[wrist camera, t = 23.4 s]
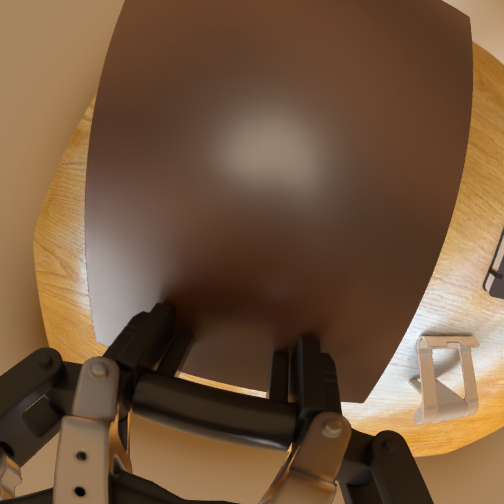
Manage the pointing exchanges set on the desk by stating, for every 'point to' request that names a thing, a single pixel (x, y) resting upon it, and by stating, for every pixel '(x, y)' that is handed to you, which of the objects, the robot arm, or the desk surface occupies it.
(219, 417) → the lid
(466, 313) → the desk surface
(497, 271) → the notebook
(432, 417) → the tablet stand
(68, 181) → the desk surface
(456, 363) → the desk surface
